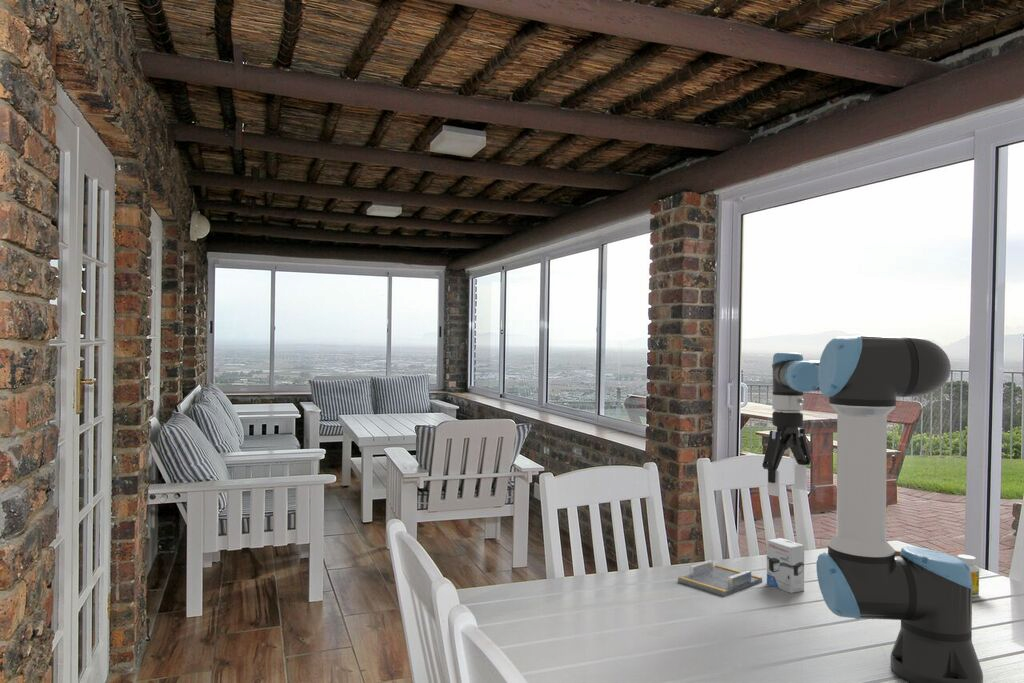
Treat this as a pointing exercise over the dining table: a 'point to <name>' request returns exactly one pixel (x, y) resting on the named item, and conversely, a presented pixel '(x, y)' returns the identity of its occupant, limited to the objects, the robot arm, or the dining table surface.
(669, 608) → the dining table surface
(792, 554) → the ink box
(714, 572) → the grey tray
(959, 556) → the supplement bottle
